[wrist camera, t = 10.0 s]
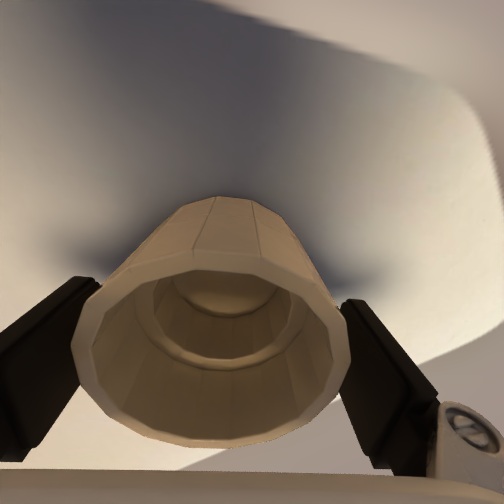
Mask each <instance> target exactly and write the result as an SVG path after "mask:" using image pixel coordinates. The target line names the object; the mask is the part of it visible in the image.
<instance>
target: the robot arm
mask: <svg viewBox="0 0 504 504" xmlns="http://www.w3.org/2000/svg"><path fill="white" fill-rule="evenodd" d="M99 287H100V284H99V283H98V282H95V279H94V278H92V277H81V276H74V277H72V278H71V279H69V280H68V281H67V282H66V283H64V284H63V285H62V286H60V287H59V288H58V289H57V290H55V291H54V292H53V293H51V294H50V295H49V296H47V297H46V298H45V299H44V300H42V301H41V302H40V303H38V304H37V305H36V306H34V307H33V308H32V309H31V310H29V311H28V312H27V313H25V314H24V315H23V316H21V317H20V318H19V319H18V320H16V321H15V322H14V323H12V324H11V325H10V326H8V327H7V328H6V329H5V330H3V331H2V332H1V333H0V462H23V460H24V459H25V457H26V456H27V454H28V453H29V451H30V450H31V449H32V448H35V447H37V446H38V445H39V444H40V443H41V442H42V440H43V439H44V437H45V436H46V434H47V433H48V431H49V430H50V428H51V427H52V425H53V424H54V423H55V421H56V420H57V418H58V417H59V415H60V414H61V412H62V411H63V409H64V408H65V406H66V405H67V403H68V402H69V400H70V399H71V397H72V396H73V395H74V393H75V392H76V390H77V389H78V387H79V386H80V382H79V378H78V375H77V371H76V367H75V363H74V359H73V355H72V351H71V340H72V338H73V335H74V332H75V329H76V326H77V323H78V320H79V317H80V314H81V311H82V309H83V306H84V303H85V302H86V300H87V299H88V298H89V297H90V296H91V295H92V294H93V293H94V292H95V291H96V290H97V289H98V288H99ZM340 311H341V313H342V315H343V317H344V318H345V321H346V324H347V332H348V339H349V346H350V354H351V364H350V366H349V368H348V371H347V373H346V376H345V378H344V381H343V383H342V385H341V388H340V390H339V394H340V396H341V399H342V401H343V404H344V406H345V408H346V411H347V413H348V416H349V419H350V421H351V424H352V426H353V429H354V431H355V434H356V436H357V439H358V441H359V444H360V446H361V449H362V451H363V453H364V454H365V455H366V456H369V458H370V461H371V463H372V466H373V468H374V469H391V470H392V472H393V474H394V476H384V475H362V474H361V475H360V474H315V473H275V472H274V473H273V472H221V471H220V472H219V471H162V470H82V469H0V504H504V438H503V437H502V435H501V434H500V432H499V431H498V430H497V429H496V428H495V427H494V426H493V425H492V424H491V423H490V422H489V421H488V420H487V419H485V418H484V417H483V416H482V415H480V414H479V413H477V412H476V411H474V410H472V409H471V408H469V407H467V406H465V405H462V404H460V403H456V402H452V401H448V402H447V401H446V402H443V403H442V404H441V403H440V402H439V401H438V400H437V398H436V396H437V395H438V392H437V391H436V389H435V388H434V387H433V386H432V385H431V383H430V382H429V381H428V380H427V378H426V377H425V376H424V374H423V373H422V372H421V371H420V370H419V368H418V367H417V366H416V364H415V363H414V362H413V361H412V359H411V358H410V357H409V356H408V355H407V353H406V352H405V351H404V350H403V348H402V347H401V346H400V345H399V343H398V342H397V341H396V340H395V338H394V337H393V336H392V335H391V333H390V332H389V331H388V330H387V328H386V327H385V326H384V325H383V323H382V322H381V321H380V320H379V318H378V317H377V316H376V315H375V313H374V312H373V311H372V310H371V308H370V307H369V306H368V305H367V303H366V302H365V301H364V300H358V299H347V301H346V302H343V303H342V305H341V308H340Z"/></svg>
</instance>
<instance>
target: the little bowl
mask: <svg viewBox="0 0 504 504" xmlns="http://www.w3.org/2000/svg"><path fill="white" fill-rule="evenodd" d="M71 351H72V355H73V359H74V363H75V367H76V371H77V375H78V378H79V382H80V384H81V387H82V388H83V389H84V390H85V391H86V392H87V393H88V394H89V396H90V397H91V398H92V399H93V400H94V401H95V402H96V404H97V405H98V406H99V407H100V408H101V409H102V410H103V411H104V413H105V414H106V415H108V416H109V417H110V418H112V419H114V420H115V421H117V422H119V423H121V424H123V425H124V426H126V427H128V428H130V429H132V430H133V431H135V432H137V433H139V434H140V435H142V436H144V437H145V436H146V437H147V438H151V439H155V440H159V441H163V442H167V443H171V444H175V445H179V446H183V447H189V448H222V449H230V448H237V447H241V446H246V445H252V444H257V443H262V442H267V441H271V440H274V439H276V438H278V437H281V436H283V435H285V434H287V433H289V432H291V431H293V430H295V429H297V428H299V427H301V426H303V425H305V424H307V423H308V422H310V421H311V420H312V419H313V418H314V417H316V415H318V414H319V413H320V412H321V411H322V410H323V409H324V408H325V407H326V406H327V405H328V404H329V403H330V402H331V401H332V400H333V399H335V398H336V395H338V393H339V390H340V388H341V385H342V383H343V381H344V378H345V376H346V373H347V371H348V368H349V366H350V364H351V354H350V346H349V339H348V332H347V324H346V321H345V318H344V317H343V315H342V313H341V311H340V310H339V308H338V306H337V305H336V303H335V301H334V299H333V298H332V296H331V294H330V293H329V291H328V289H327V287H326V286H325V284H324V282H323V281H322V279H321V277H320V275H319V274H318V272H317V270H316V269H315V267H314V265H313V263H312V262H311V260H310V258H309V257H308V255H307V253H306V251H305V250H304V248H303V246H302V244H301V243H300V241H299V240H298V238H297V237H296V236H295V234H294V233H293V232H292V230H291V229H290V228H289V226H288V225H287V224H286V222H285V221H284V220H283V218H282V217H281V216H279V215H278V214H276V213H274V212H272V211H270V210H269V209H267V208H265V207H263V206H261V205H260V204H258V203H256V202H254V201H251V200H246V199H238V198H229V197H220V196H217V197H211V198H208V199H204V200H201V201H197V202H194V203H191V204H187V205H184V206H181V207H180V208H179V209H178V210H177V211H176V212H174V213H173V214H172V215H171V216H170V217H169V218H167V219H166V220H165V221H164V222H163V223H162V224H160V225H159V226H158V227H157V228H156V229H155V230H154V231H153V232H152V233H151V234H150V235H149V236H148V237H147V238H146V239H145V240H144V242H143V243H142V244H141V245H140V246H139V247H138V248H137V249H136V250H135V251H134V252H133V253H132V254H131V255H130V256H129V257H128V258H127V259H126V260H125V261H124V262H123V263H122V264H121V265H120V266H119V267H118V268H117V269H116V270H115V271H114V272H113V273H112V274H111V275H110V276H109V277H108V278H107V280H106V281H105V282H104V283H103V284H102V285H101V286H100V287H99V288H98V289H97V290H96V291H95V292H94V293H93V294H92V295H91V296H90V297H89V298H88V299H87V300H86V302H85V303H84V306H83V309H82V311H81V314H80V317H79V320H78V323H77V326H76V329H75V332H74V335H73V338H72V340H71Z"/></svg>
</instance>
